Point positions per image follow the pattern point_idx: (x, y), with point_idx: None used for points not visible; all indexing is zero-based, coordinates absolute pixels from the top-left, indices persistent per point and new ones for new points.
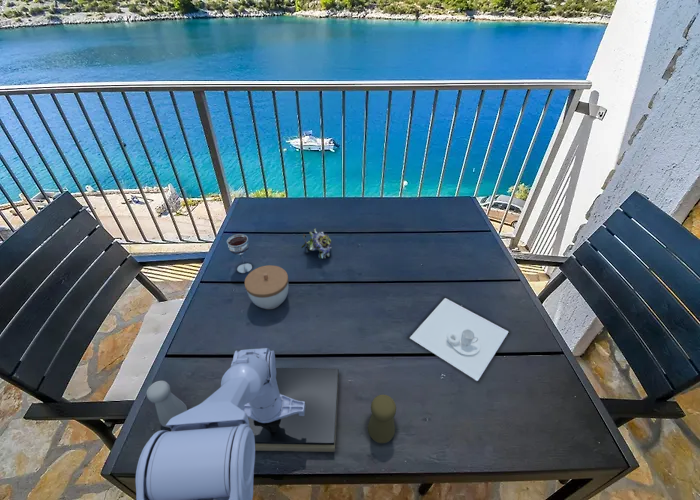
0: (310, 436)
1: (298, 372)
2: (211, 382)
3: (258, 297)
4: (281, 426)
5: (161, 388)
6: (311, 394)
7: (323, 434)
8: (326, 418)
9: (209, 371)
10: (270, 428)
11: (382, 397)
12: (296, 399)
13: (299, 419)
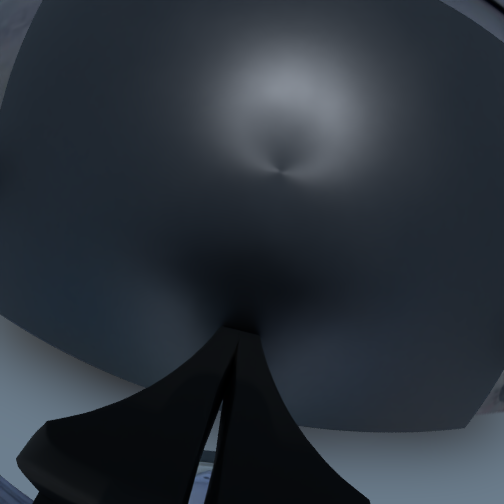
0: (408, 414)
1: (413, 6)
2: (15, 42)
3: None
4: (281, 357)
5: None
6: (486, 187)
7: (454, 407)
8: (495, 344)
9: (19, 10)
10: (211, 428)
11: None
12: (406, 192)
13: (394, 337)
